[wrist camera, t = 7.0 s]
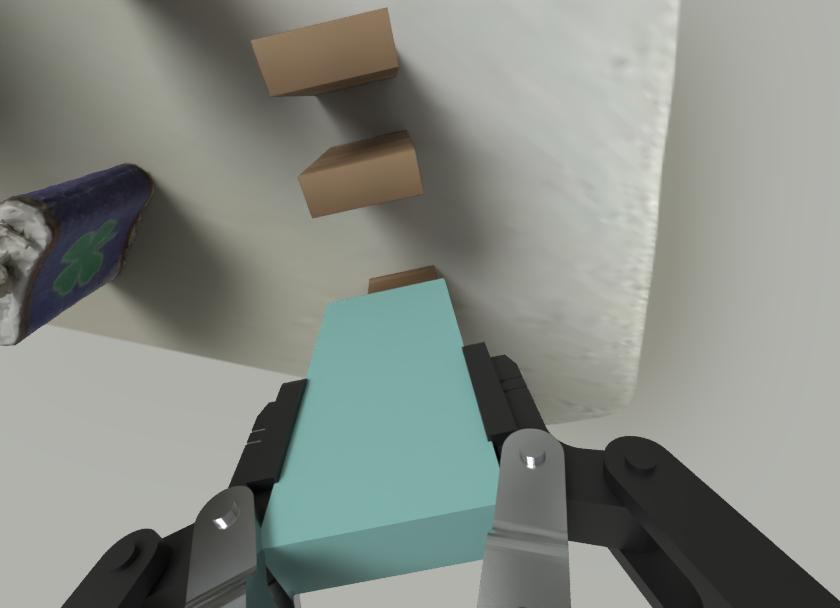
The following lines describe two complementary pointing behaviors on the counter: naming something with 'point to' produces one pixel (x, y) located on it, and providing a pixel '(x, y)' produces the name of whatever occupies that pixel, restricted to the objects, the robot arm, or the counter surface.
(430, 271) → the tile
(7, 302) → the flask
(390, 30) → the brown flat block
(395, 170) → the tile
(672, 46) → the counter surface
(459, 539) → the tile
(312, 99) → the counter surface
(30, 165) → the counter surface
